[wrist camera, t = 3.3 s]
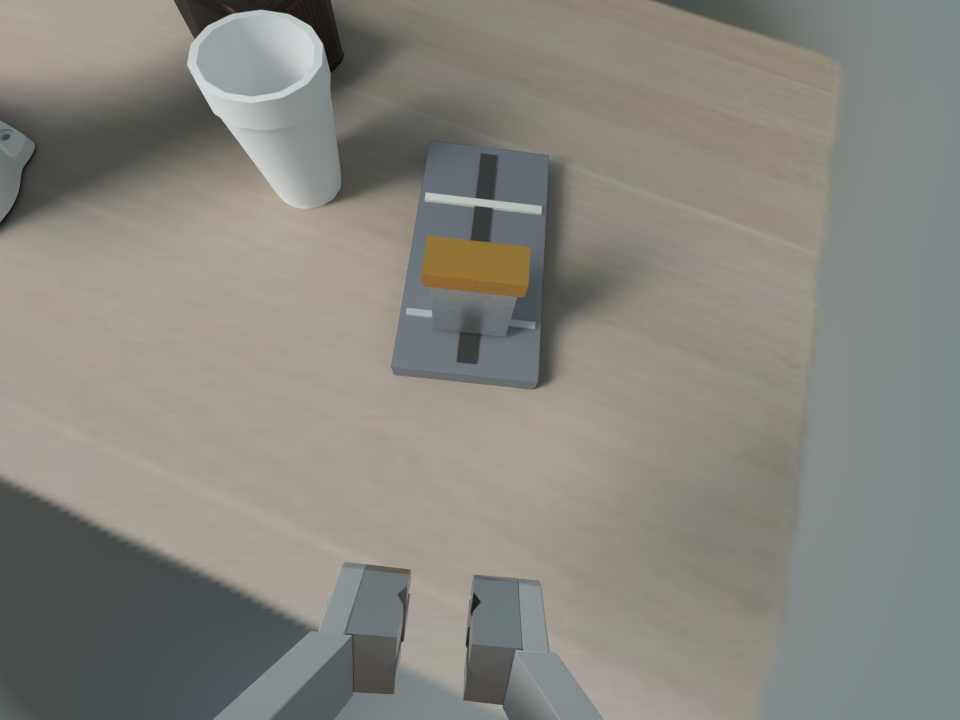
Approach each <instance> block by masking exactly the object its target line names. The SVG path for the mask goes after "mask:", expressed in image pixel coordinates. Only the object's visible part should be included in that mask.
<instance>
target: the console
mask: <svg viewBox="0 0 960 720" xmlns="http://www.w3.org/2000/svg"><path fill="white" fill-rule="evenodd" d="M548 166H549V155H544V154H536V153H527V152H519V151H511V150H503V149H494V148H486V147H478V146H470V145H461V144H453V143H445V142H437V141H430V142H429V148H428V154H427V160H426V165H425V171H424V177H423V183H422V189H421V195H420V201H419V207H418V212H417V218H416V224H415V230H414V236H413V242H412V248H411V253H410V259H409V265H408V271H407V277H406V283H405V289H404V295H403V300H402V306H401V312H400V318H399V324H398V330H397V336H396V341H395V347H394V353H393V359H392V365H391V368H392V370H393V373H394V375H402V376H412V377H421V378H431V379H440V380H449V381H459V382H468V383H477V384H487V385H496V386H506V387H515V388H524V389H534V388H535V387H536V385H537V383H538V373H539V352H540V332H541V311H542V290H543V270H544V249H545V228H546V208H547V187H548ZM427 235H429V236H437V237H446V238H455V239H463V240H472V241H481V242H489V243H498V244H506V245H515V246H524V247H531V250H530V266H529V282H528V288H527V291H526V295H525V298H522V297H517V299H516V303H515V306H514V309H513V313H512V316H511V320H510V323H509V326H508V330H507V333H506V336H505V337H501V336H492V335H483V334H474V333H465V332H456V331H447V330H437V329H433V318H432V305H431V293H430V287H425V286H423V284H422V275H421V273H422V267H423V261H424V254H425V248H426V242H427Z"/></svg>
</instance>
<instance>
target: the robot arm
mask: <svg viewBox="0 0 960 720" xmlns="http://www.w3.org/2000/svg"><path fill="white" fill-rule="evenodd" d="M34 149H35V144H34V142H33V141H32V140H30V139H29V138H28V137H26V136H25V135H24V134H22V133H21V132H19V131H17V130H16V129H14V128H12V127H11V126H9V125H8V124H6V123H4V122H3V121H1V120H0V222H1V220H2V219H3V218H4V217H5V216H6V215H7V213H8V212H9V210H10V209H11V207H12V206H13V204H14V202H15V200H16V197H17V195H18V192H19V188H20V180H21V173H22V170H23V167H24V166H25V164H26V163H27V161H28V160H29V158H30V157H31V155H32V154H33V151H34ZM410 582H411V570H409V569H401V568H392V567H384V566H376V565H368V564H358V563H348V562H345V563H344V564H343V566H342V567H341V569H340V572H339V574H338V577H337V580H336V583H335V585H334V588H333V591H332V594H331V596H330V599H329V602H328V605H327V608H326V610H325V613H324V616H323V619H322V621H321V624H320V627H319V630H318V632H312V631H311V632H310V633H309V634H307V635H306V636H305V637H304V638H303V639H302V640H301V641H300V642H299V643H298V644H296V645H295V646H294V647H293V648H292V649H291V650H290V651H289V652H287V653H286V654H285V655H284V656H283V657H282V658H281V659H280V660H279V661H278V662H276V663H275V664H274V665H273V666H272V667H271V668H270V669H269V670H268V671H266V672H265V673H264V674H263V675H262V676H261V677H260V678H259V679H258V680H257V681H255V682H254V683H253V684H252V685H251V686H250V687H249V688H248V689H247V690H245V691H244V692H243V693H242V694H241V695H240V696H239V697H238V698H237V699H235V700H234V701H233V702H232V703H231V704H230V705H229V706H228V707H227V708H225V709H224V710H223V711H222V712H221V713H220V714H219V715H218V716H217V717H215V718H214V719H213V720H334V719H335V718H336V716H337V715H338V714H339V713H340V711H341V710H342V709H343V707H344V706H345V705H346V704H347V702H348V701H349V699H351V697H352V696H353V692H359V693H377V694H394V693H395V687H396V681H397V676H398V671H399V665H400V657H401V643H402V642H403V641H404V637H405V631H406V624H407V617H408V609H409V599H410V594H409V588H410ZM466 647H467V653H466V660H465V669H464V694H463V700H464V701H473V702H481V703H490V704H498V705H503V709H504V711H505V713H506V715H507V717H508V719H509V720H604V719H603V718H602V716H601V715H600V714H599V712H598V711H597V710H596V708H595V707H594V705H593V704H592V703H591V701H590V700H589V698H588V697H587V696H586V694H585V693H584V691H583V690H582V689H581V687H580V686H579V684H578V683H577V682H576V680H575V679H574V677H573V676H572V675H571V673H570V672H569V670H568V669H567V668H566V666H565V665H564V663H563V662H562V661H561V659H560V658H559V656H558V655H557V654H556V653H550V652H549V645H548V637H547V629H546V621H545V613H544V605H543V597H542V589H541V584H540V582H539V581H537V580H526V579H516V578H509V577H496V576H483V575H474V576H473V580H472V588H471V599H470V601H469V609H468V618H467V630H466Z"/></svg>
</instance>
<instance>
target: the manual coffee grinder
mask: <svg viewBox="0 0 960 720" xmlns="http://www.w3.org/2000/svg"><path fill="white" fill-rule="evenodd" d="M174 2H175V3H176V5H177V7H178V9H179V11H180V13H181V15H182V16H183V18H184V20H185V22H186V24H187V26H188V28H189V29H190V31H191V33H192V35H193V37H194V38H195V39H196V38H197V37H198V35H199V34H200V33H201V32H202V31H203V30H204V29H205V28H206V27H207V26H208V25H210V24H212V23H214V22H216V21H218V20H220V19H222V18H225V17H227V16H229V15H231V14H235V13H242V12H249V11H256V10H266V11H272V12H279V13H285V14H290V15H292V16H293V17H295V18H297V19H299V20H301V21H303V22H304V23H306V24H308V25H310V26H311V27H312V28H313V30H314V31H315V33H316V34H317V36H318V37H319V39H320V40H321V42H322V43H323V46H324V50H325V54H326V58H327V62H328V65H329V69H330V73H331V72H332V71H333V70H334V69H335V68H336V67H337V66H338V65H339V64H340V63H341V61H342V58H343V56H344V54H343V52H342V49H341V45H340V41H339V36H338V32H337V27H336V23H335V18H334V14H333V9H332V5H331V0H174Z"/></svg>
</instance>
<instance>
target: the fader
mask: <svg viewBox="0 0 960 720" xmlns="http://www.w3.org/2000/svg"><path fill="white" fill-rule="evenodd" d="M530 250H531V247H524V246H515V245H506V244H498V243H489V242H481V241H472V240H463V239H455V238H446V237H437V236H429V235H427V242H426V248H425V254H424V261H423V267H422V273H421V275H422V284H423V286H425V287H430V293H431V305H432V318H433V329H437V330H447V331H456V332H465V333H474V334H483V335H492V336H501V337H505V336H506V333H507V330H508V326H509V323H510V320H511V316H512V313H513V309H514V306H515V303H516V299H517V297H522V298H525V295H526V291H527V288H528V282H529V266H530Z"/></svg>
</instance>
